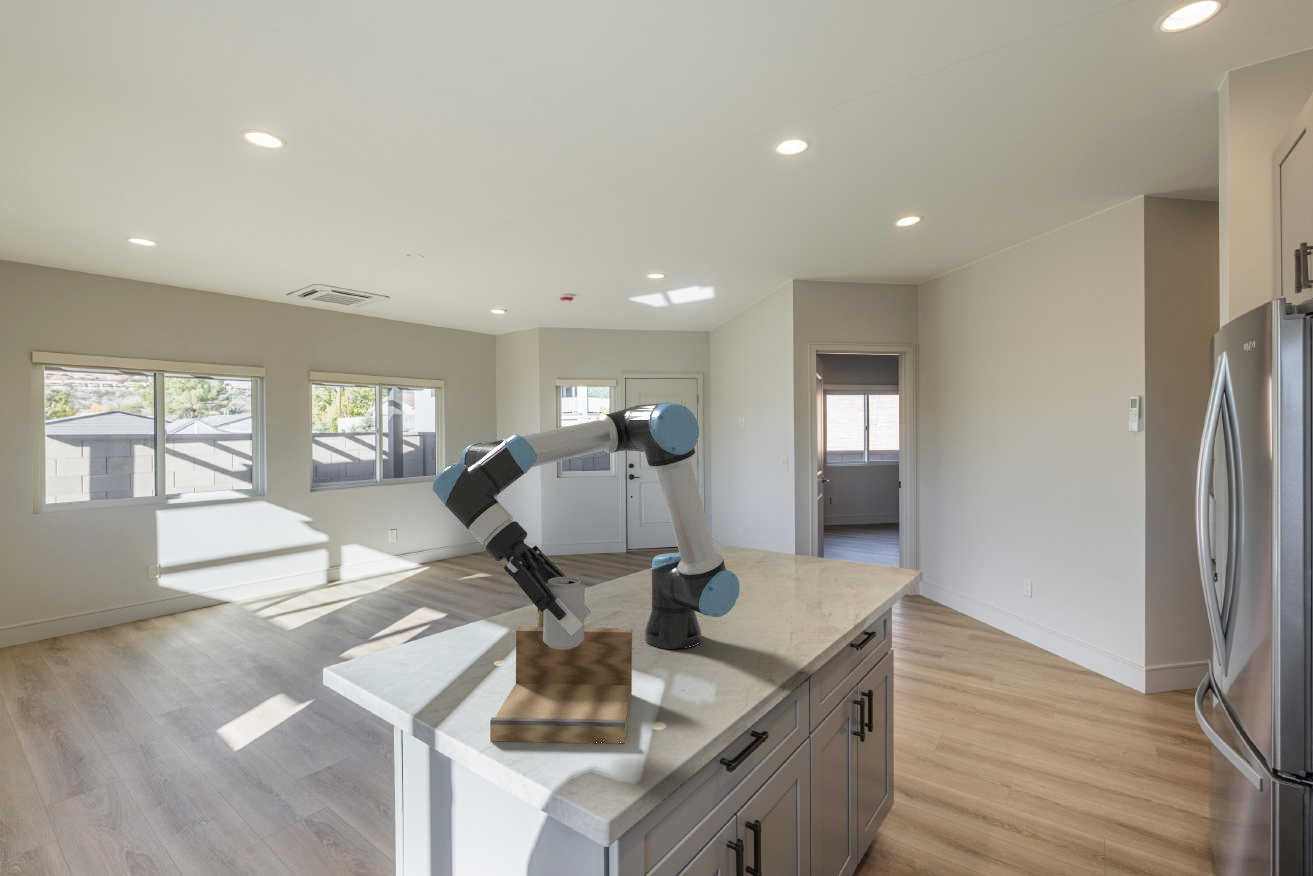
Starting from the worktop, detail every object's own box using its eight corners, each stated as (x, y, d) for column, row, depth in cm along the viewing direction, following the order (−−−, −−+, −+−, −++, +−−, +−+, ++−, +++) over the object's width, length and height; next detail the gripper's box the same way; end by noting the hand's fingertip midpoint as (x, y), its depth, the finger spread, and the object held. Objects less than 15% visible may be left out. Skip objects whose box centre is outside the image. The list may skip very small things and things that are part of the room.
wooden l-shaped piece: (631, 694, 125) (632, 628, 125) (624, 743, 105) (625, 665, 105) (518, 692, 125) (519, 626, 125) (490, 741, 105) (490, 663, 105)
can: (586, 649, 107) (587, 583, 107) (544, 652, 105) (545, 585, 105) (581, 636, 114) (582, 574, 114) (542, 638, 113) (543, 575, 113)
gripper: (505, 537, 122) (581, 619, 120) (462, 557, 101) (552, 656, 100) (530, 512, 121) (607, 594, 119) (492, 527, 101) (584, 626, 99)
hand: (582, 622), depth 110 cm, fingers closed on can, 7 cm apart
